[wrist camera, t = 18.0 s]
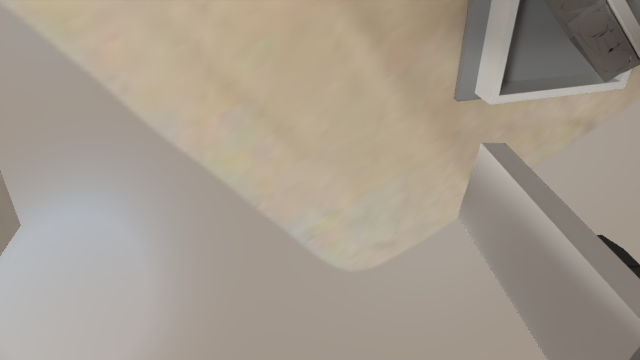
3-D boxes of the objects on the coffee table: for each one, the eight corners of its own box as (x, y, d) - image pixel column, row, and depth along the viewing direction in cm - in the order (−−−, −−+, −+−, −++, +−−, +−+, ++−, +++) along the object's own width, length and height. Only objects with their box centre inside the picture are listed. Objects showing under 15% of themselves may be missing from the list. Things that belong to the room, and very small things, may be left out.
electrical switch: (605, 13, 42) (682, 50, 35) (557, 53, 44) (620, 96, 36) (561, -62, 37) (639, -37, 30) (510, -13, 39) (571, 21, 32)
